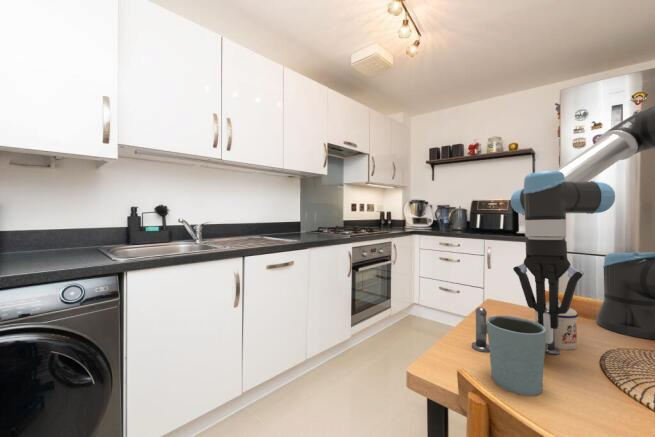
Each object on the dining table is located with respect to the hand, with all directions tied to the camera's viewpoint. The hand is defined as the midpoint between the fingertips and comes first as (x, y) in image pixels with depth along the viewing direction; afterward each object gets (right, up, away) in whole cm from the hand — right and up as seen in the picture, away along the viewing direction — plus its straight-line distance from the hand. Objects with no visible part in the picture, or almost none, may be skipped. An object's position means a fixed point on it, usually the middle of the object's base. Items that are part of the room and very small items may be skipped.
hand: (548, 341), depth 64 cm
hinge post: (+5, -5, +6) cm, 10 cm away
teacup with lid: (+12, -5, +12) cm, 17 cm away
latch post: (-11, -5, +8) cm, 15 cm away
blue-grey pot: (-12, -5, -7) cm, 15 cm away
